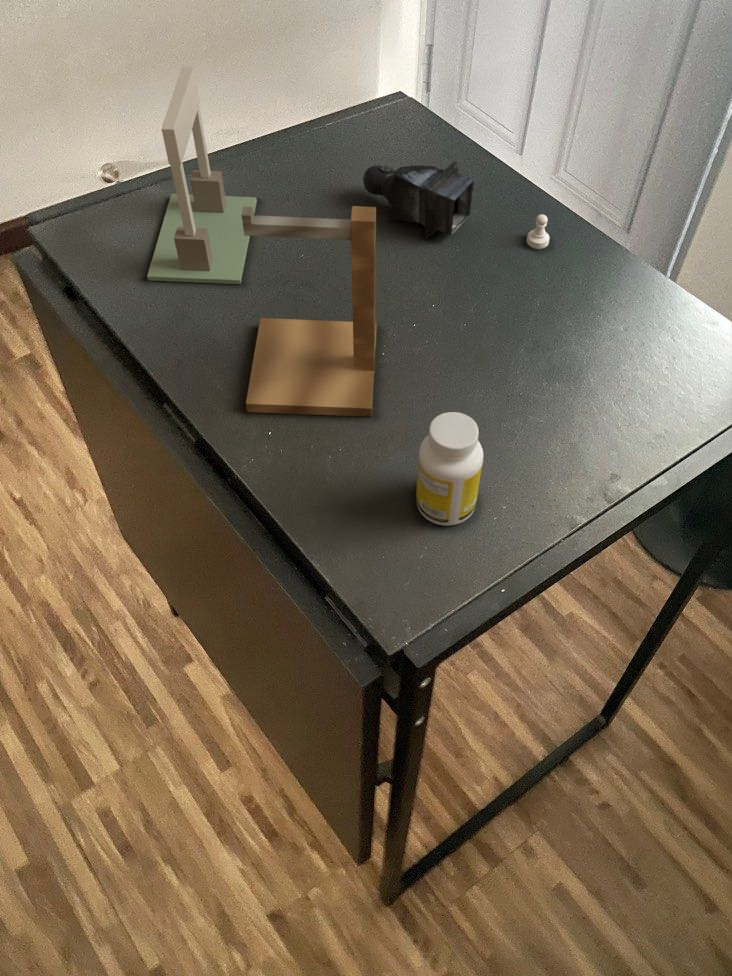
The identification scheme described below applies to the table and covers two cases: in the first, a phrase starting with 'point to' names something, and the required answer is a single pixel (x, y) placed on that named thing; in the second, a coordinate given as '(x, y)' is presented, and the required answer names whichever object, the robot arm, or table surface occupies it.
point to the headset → (203, 181)
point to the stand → (319, 330)
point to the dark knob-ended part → (424, 195)
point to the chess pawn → (539, 234)
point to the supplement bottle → (449, 469)
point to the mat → (223, 241)
